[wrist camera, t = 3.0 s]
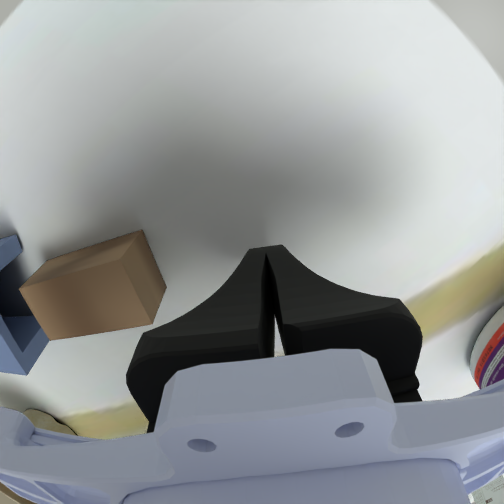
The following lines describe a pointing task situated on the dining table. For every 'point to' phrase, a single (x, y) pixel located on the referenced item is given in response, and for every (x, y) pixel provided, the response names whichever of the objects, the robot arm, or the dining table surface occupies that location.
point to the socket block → (18, 327)
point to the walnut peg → (96, 289)
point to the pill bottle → (489, 352)
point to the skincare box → (490, 492)
